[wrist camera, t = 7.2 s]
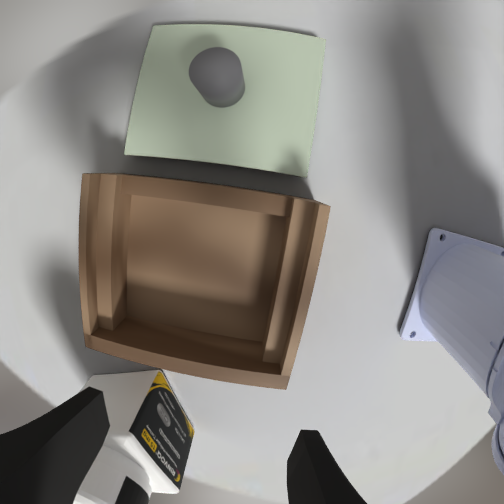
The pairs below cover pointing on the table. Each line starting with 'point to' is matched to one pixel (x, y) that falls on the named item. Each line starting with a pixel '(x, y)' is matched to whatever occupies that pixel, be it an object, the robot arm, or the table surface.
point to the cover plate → (245, 124)
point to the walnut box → (197, 275)
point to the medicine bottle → (137, 440)
